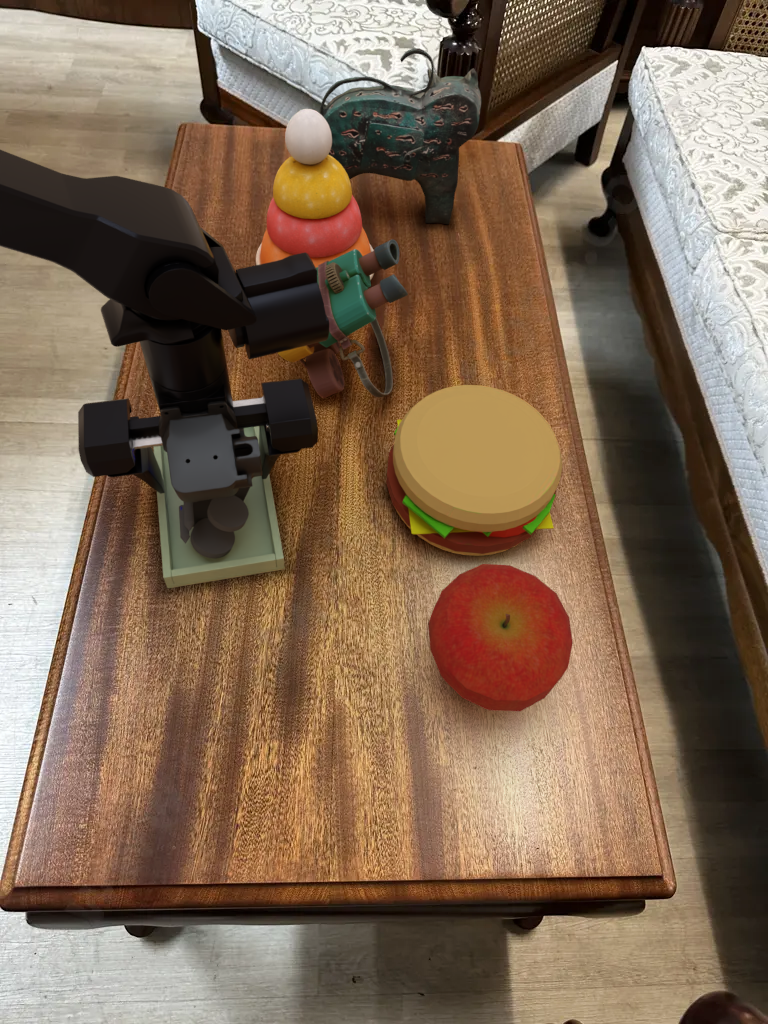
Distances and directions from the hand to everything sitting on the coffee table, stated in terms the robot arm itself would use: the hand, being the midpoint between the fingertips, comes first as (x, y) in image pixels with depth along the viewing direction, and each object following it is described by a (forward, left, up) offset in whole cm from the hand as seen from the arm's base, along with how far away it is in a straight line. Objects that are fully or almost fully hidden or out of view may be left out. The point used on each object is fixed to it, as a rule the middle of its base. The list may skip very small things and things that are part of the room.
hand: (213, 482), depth 66 cm
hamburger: (+24, -3, -3) cm, 24 cm away
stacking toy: (+15, +31, -3) cm, 34 cm away
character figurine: (0, 0, -2) cm, 2 cm away
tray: (0, 0, -3) cm, 3 cm away
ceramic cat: (+26, +41, -3) cm, 48 cm away
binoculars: (+14, +15, -3) cm, 20 cm away
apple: (+20, -21, -3) cm, 30 cm away
